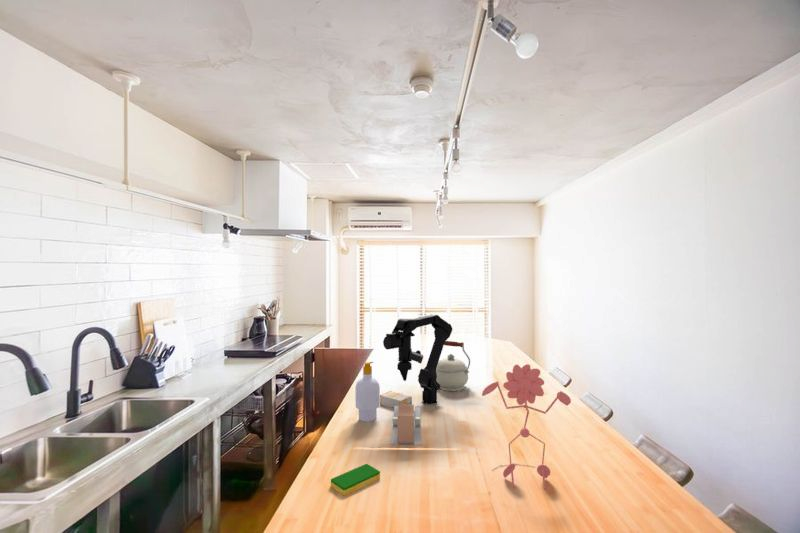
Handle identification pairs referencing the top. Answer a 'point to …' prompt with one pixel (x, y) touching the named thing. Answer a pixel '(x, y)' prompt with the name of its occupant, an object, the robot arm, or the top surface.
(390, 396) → the supplement box
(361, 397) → the soap bottle
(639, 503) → the top surface
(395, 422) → the chute
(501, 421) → the top surface
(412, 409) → the block
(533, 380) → the figurine
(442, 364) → the kettle
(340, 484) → the dish sponge
